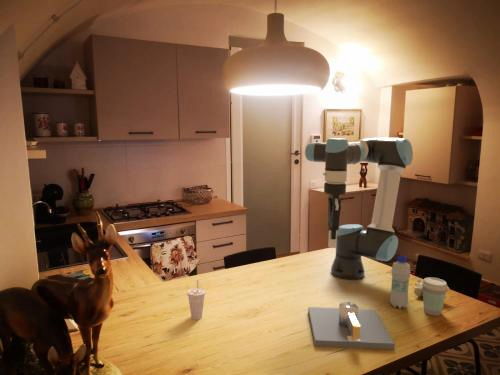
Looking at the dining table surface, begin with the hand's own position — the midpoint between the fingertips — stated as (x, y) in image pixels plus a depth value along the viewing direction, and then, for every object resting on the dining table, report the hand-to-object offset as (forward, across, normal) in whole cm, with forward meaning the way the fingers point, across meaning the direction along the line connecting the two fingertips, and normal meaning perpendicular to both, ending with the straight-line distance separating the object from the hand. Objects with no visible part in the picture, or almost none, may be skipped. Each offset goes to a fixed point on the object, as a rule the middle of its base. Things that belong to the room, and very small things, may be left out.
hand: (332, 247), depth 135 cm
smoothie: (+25, +9, -48) cm, 55 cm away
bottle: (+25, -6, +27) cm, 37 cm away
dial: (+22, +18, +4) cm, 29 cm away
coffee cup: (+25, -2, +38) cm, 45 cm away
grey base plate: (+24, +13, +4) cm, 28 cm away
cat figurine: (+25, -14, +42) cm, 50 cm away
